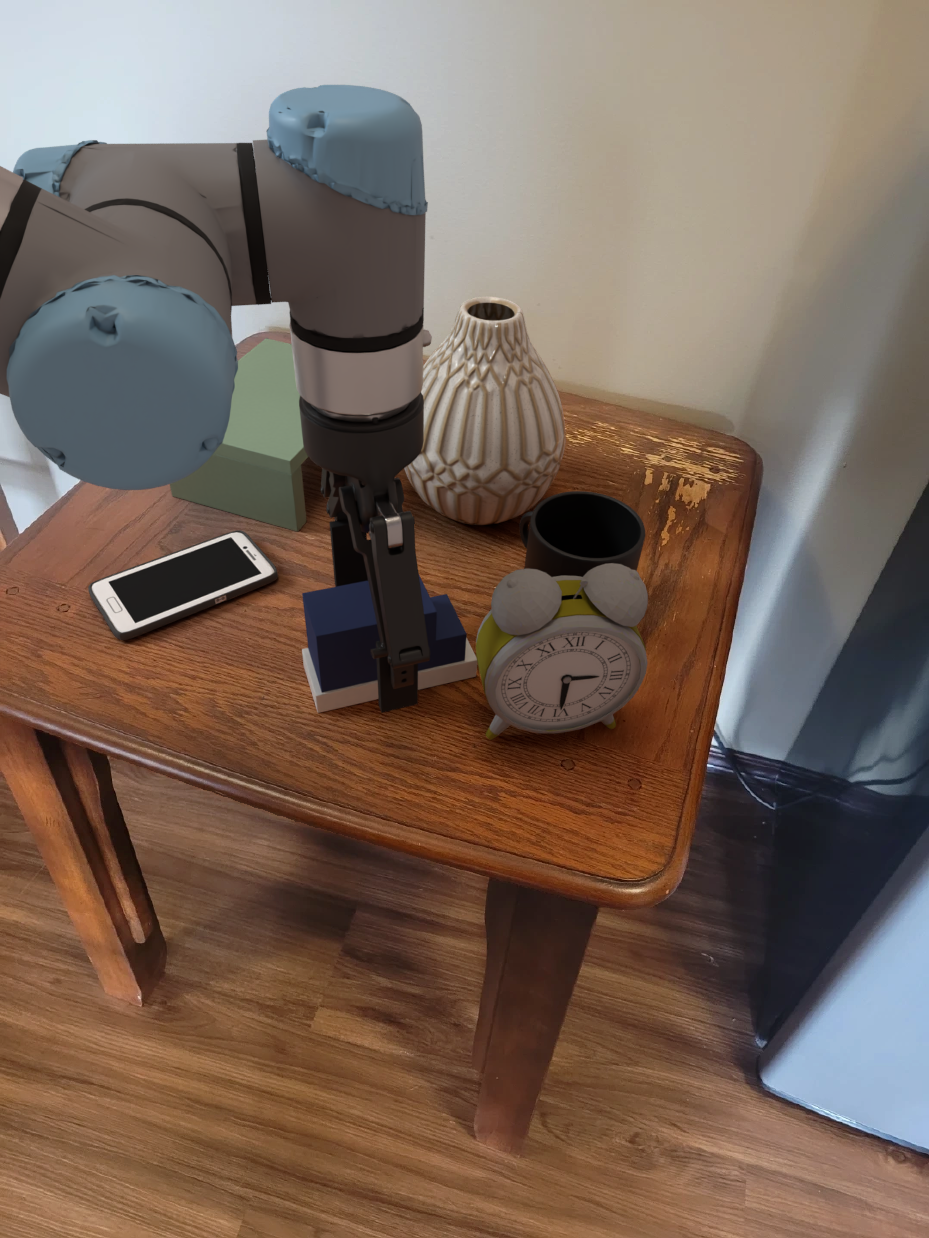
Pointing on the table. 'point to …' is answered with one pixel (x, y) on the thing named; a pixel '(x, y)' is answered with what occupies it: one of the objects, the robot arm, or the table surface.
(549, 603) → the alarm clock
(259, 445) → the sage green footstool
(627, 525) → the mug
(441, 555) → the table surface
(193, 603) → the cell phone
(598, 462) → the table surface
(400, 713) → the table surface
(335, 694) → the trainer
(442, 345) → the vase
